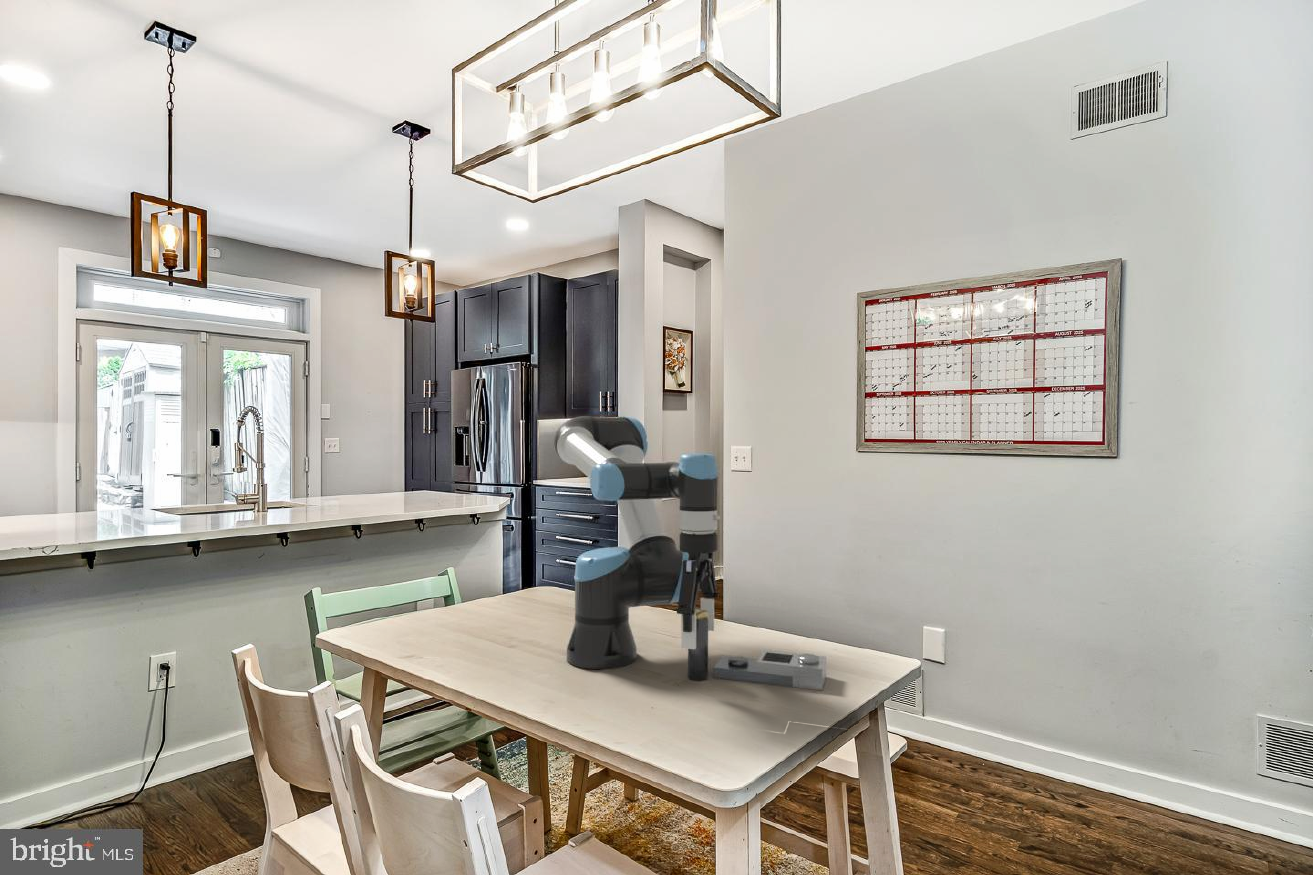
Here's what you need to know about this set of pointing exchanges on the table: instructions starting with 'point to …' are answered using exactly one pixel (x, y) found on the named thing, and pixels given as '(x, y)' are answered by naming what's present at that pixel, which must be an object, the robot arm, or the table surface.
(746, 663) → the metal block with stud
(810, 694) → the table surface
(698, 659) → the pin
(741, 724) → the table surface
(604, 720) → the table surface
